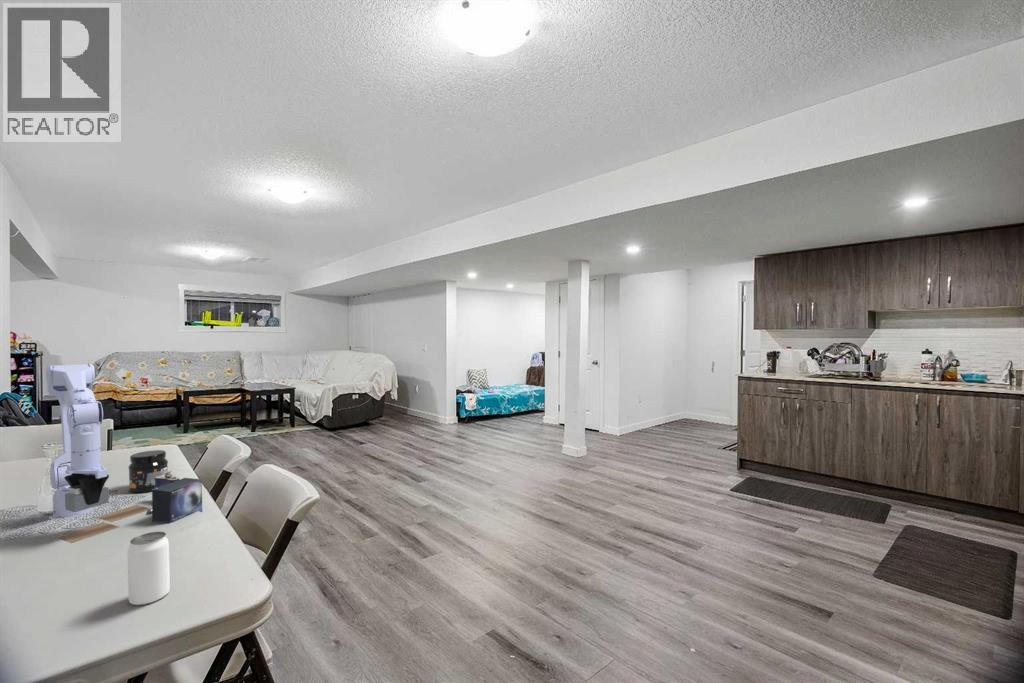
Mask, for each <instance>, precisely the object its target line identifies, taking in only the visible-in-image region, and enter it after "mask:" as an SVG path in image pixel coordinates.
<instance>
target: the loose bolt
mask: <svg viewBox="0 0 1024 683" xmlns="http://www.w3.org/2000/svg"><path fill="white" fill-rule="evenodd" d="M145 515H146V516H150V515H152V508H151V509H149V510H148V511H146V512H145Z"/></svg>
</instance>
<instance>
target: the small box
mask: <svg viewBox="0 0 1024 683" xmlns="http://www.w3.org/2000/svg"><path fill="white" fill-rule="evenodd" d="M151 495H152V496H151V498H152V499H151V500H152V502H151V509H152V514H151V518H152V520H151V522H152V523H160V524H161V523H162V524H171V523H174V522H178V521H179V520H181V519H184V518H186V517H189V516H191V515H193V514H195V513H197V512H198V513H199V512H200V513H203V479H201V478H200V479H199V478H192V477H191V478H189V477H183V478H181V479H180V478H179V480H177V481H174V482H171V483H169V484H166V485H163V486H160V487H157V488H154V489H152V491H151Z"/></svg>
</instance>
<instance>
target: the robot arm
mask: <svg viewBox="0 0 1024 683" xmlns="http://www.w3.org/2000/svg"><path fill="white" fill-rule="evenodd" d="M45 371H46V372H45V374H46V375H45V377H46V378H45V380H46V387H47V389H46V390H47V392H48V395H49V396H52V397H55V398H57V400H58V402H59V406H60V421H61V435H62V436H61V437H62V447H63V448H62V450H63V451H62V452H63V453H62V454H60V455H59V456H58V457H56V458H54V459H53V460H52V462H51V463H50V470H49V471H50V473H49V474H50V476H49V477H50V487H51V488H52V489H53V490H55V491H54V492H53V494H52V516H49V517H48V519H49V520H54V519H57V518H71V517H77V516H81V515H84V514H88V513H89V512H92V511H93V509H94V507H91V508H88V509H85V510H81V511H78V512H72V511H69V510H65V494H67V493H68V487H72V486H76V485H80V484H81V485H82V487H83V490H84V493H85V499H86V503H87V505H91V504H95V503H98V502H99V499H100V495H101V492H102V489H103V486H104V484H105V485H106V482H107V480H108V479H110V478H109V477H110V475H109V474H108V469H107V468H105V467H104V465H103V464H102V449H101V448H102V444H101V442H102V441H101V440H102V439H101V424H102V423H103V420H104V409H103V405H102V402H101V401H99V400H97V399H96V396H95V394H94V391H93V390H92V389H93V388H94V382H95V380H96V379H95V378H96V372H95V371H96V370H95V366H94V365H93V364H92V363H90V362H89V363H84V364H83V363H81V364H62V365H61V364H58V365H56V364H55V365H52V364H49V365H48V366H47V367H46V370H45Z"/></svg>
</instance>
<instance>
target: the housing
mask: <svg viewBox="0 0 1024 683" xmlns="http://www.w3.org/2000/svg"><path fill="white" fill-rule="evenodd" d="M108 503H109V487H107V486H106V483H105V484H104V486H103V489H102V492H101V495H100V499H99V502H98V503H95V504H91V505H87V503H86V499H85V493H84V490H83V487H82V485H81V484H80V485H76V486H72V487H68V493H67V494H65V510H69V511H72V512H78V511H81V510H85V509H88V508H91V507H93V508H95V507H98V506H102V505H105V504H108Z"/></svg>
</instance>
